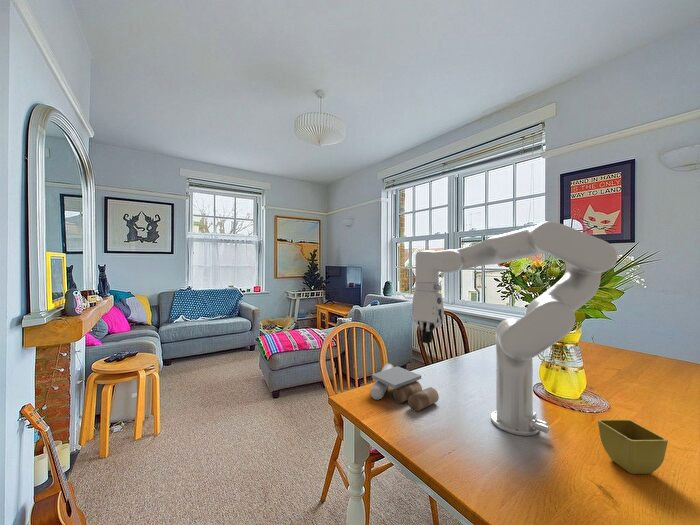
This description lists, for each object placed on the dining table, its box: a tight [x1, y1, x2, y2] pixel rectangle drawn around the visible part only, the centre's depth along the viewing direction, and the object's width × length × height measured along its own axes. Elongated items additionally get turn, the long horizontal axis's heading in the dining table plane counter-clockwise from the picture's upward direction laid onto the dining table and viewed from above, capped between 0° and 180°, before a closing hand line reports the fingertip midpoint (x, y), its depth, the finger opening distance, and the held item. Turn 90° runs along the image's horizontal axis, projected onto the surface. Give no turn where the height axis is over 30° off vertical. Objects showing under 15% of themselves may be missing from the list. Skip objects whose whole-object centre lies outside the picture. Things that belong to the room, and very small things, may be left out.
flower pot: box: [597, 418, 669, 475], centre depth 68 cm, size 9×9×9 cm
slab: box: [371, 366, 422, 390], centre depth 107 cm, size 12×14×1 cm
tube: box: [370, 363, 395, 401], centre depth 113 cm, size 5×5×25 cm
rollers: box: [392, 380, 440, 412], centre depth 100 cm, size 12×10×5 cm
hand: (427, 342), depth 96 cm, fingers closed
